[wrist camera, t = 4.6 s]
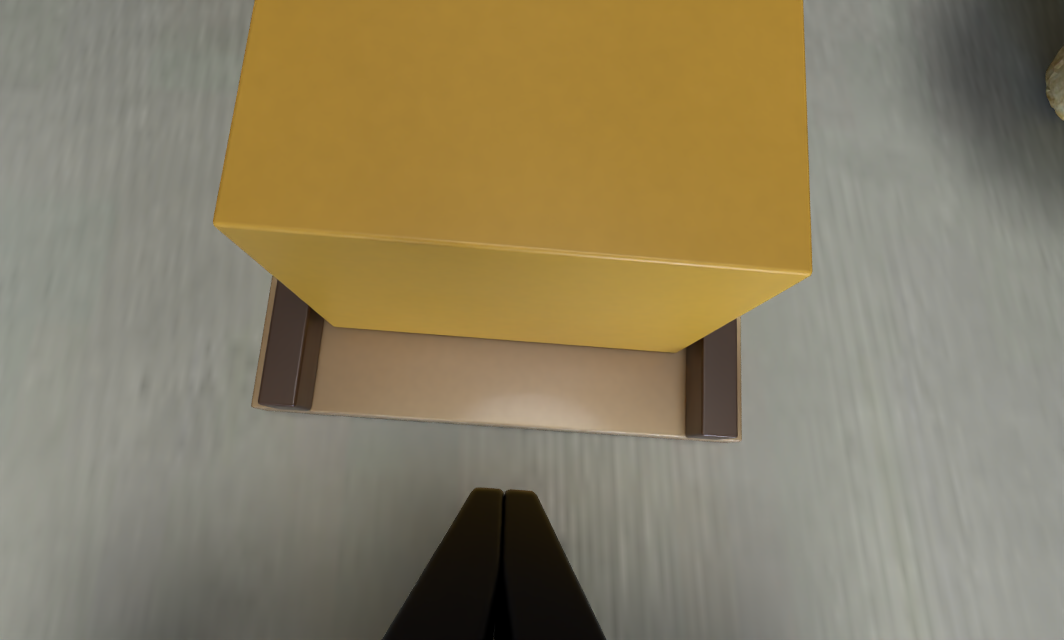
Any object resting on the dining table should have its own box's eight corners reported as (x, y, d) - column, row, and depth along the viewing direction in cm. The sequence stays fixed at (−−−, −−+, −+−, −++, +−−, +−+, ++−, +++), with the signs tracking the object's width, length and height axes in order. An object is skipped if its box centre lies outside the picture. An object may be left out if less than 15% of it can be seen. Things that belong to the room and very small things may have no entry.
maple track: (727, 442, 19) (764, 440, 17) (265, 410, 19) (227, 402, 16) (725, -128, 24) (754, -200, 21) (357, -170, 23) (340, -249, 21)
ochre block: (677, 353, 18) (814, 275, 11) (332, 327, 18) (209, 225, 10) (680, 165, 20) (804, -28, 12) (358, 136, 19) (269, -85, 11)
